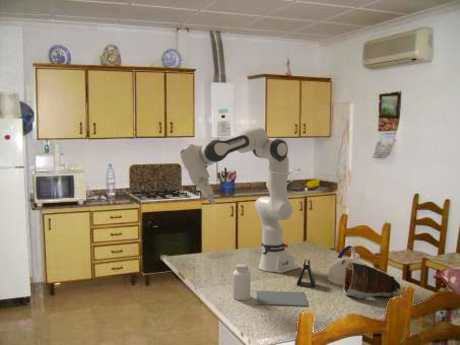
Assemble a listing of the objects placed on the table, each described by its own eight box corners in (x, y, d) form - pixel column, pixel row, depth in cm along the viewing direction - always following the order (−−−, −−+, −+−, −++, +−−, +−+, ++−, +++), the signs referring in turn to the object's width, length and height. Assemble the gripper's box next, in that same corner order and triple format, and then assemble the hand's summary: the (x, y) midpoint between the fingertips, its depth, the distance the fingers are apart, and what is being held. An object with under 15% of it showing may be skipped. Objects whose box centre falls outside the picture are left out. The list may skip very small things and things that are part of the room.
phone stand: (315, 283, 230) (316, 260, 229) (314, 287, 224) (315, 263, 223) (297, 281, 232) (298, 258, 231) (296, 285, 226) (297, 261, 225)
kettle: (375, 280, 237) (377, 246, 236) (356, 290, 222) (357, 253, 220) (340, 271, 251) (341, 239, 249) (319, 280, 236) (321, 245, 234)
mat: (257, 304, 200) (257, 303, 200) (256, 291, 216) (256, 290, 216) (307, 306, 199) (308, 305, 199) (303, 293, 215) (303, 292, 215)
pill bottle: (231, 294, 212) (232, 262, 211) (249, 294, 213) (249, 262, 211) (233, 301, 204) (234, 267, 203) (251, 300, 205) (252, 267, 204)
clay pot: (409, 276, 207) (354, 264, 207) (402, 310, 206) (347, 297, 206) (397, 270, 221) (346, 259, 222) (391, 301, 221) (340, 290, 221)
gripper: (208, 174, 209) (221, 201, 210) (204, 175, 229) (216, 200, 230) (195, 180, 208) (208, 207, 209) (193, 180, 228) (205, 205, 229)
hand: (212, 203), depth 219 cm, fingers open, 8 cm apart
